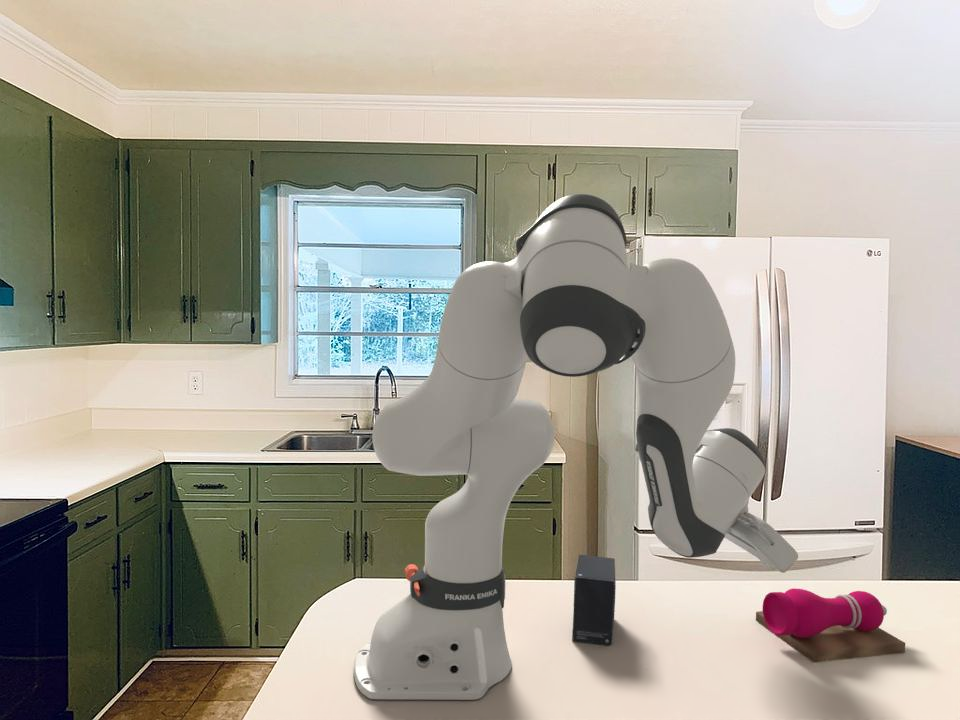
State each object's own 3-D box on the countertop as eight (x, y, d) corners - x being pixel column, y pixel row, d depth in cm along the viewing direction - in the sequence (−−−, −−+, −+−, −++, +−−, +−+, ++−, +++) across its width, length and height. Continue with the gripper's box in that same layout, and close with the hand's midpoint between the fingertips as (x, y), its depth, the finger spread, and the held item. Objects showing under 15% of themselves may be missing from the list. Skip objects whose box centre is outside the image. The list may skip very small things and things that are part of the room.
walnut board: (812, 662, 101) (813, 652, 100) (755, 620, 114) (756, 611, 114) (904, 652, 104) (905, 643, 104) (838, 612, 118) (838, 604, 117)
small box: (614, 647, 104) (615, 580, 104) (571, 642, 106) (572, 576, 105) (614, 617, 115) (616, 556, 114) (575, 613, 116) (577, 553, 115)
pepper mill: (788, 647, 101) (902, 641, 105) (791, 598, 101) (904, 595, 105) (758, 628, 108) (866, 624, 112) (761, 582, 108) (868, 580, 112)
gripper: (771, 508, 94) (831, 573, 96) (698, 473, 114) (750, 528, 116) (740, 541, 93) (801, 606, 95) (672, 500, 113) (724, 555, 116)
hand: (772, 563), depth 106 cm, fingers closed
